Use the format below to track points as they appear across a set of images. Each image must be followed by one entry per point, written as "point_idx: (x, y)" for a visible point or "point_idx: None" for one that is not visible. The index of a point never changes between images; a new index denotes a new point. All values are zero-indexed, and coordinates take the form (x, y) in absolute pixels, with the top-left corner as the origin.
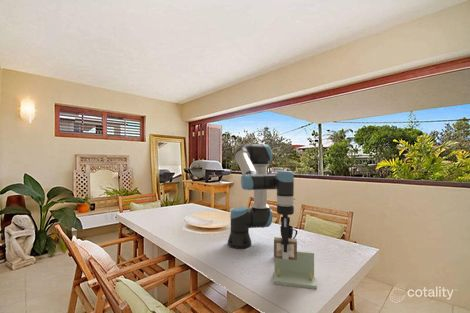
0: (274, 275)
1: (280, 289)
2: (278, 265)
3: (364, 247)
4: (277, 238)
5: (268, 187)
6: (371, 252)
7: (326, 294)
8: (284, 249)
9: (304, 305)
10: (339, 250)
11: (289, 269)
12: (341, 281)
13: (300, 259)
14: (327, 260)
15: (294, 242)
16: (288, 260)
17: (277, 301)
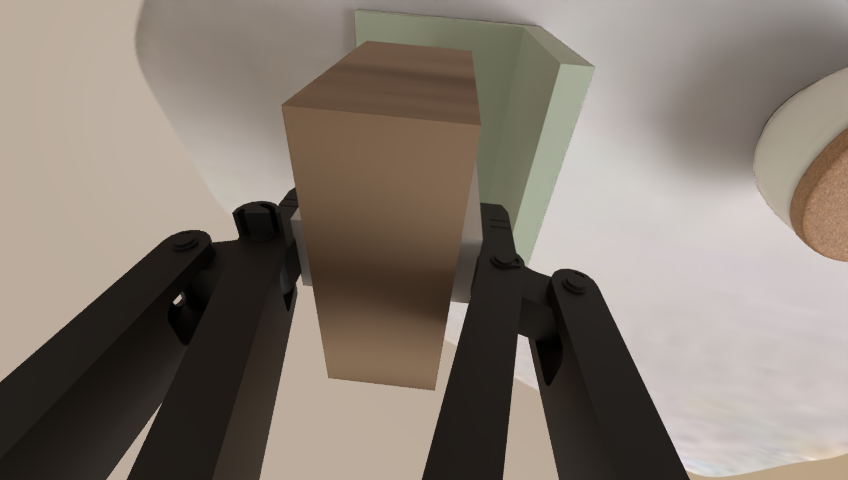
0: (438, 22)
1: (304, 59)
2: (522, 71)
3: (744, 466)
4: (406, 184)
5: None
6: (687, 464)
7: None
8: (282, 209)
9: (216, 169)
10: (755, 404)
11: (500, 149)
12: (449, 331)
13: None
14: (654, 341)
15: (328, 354)
16: (509, 172)
17: (174, 32)
